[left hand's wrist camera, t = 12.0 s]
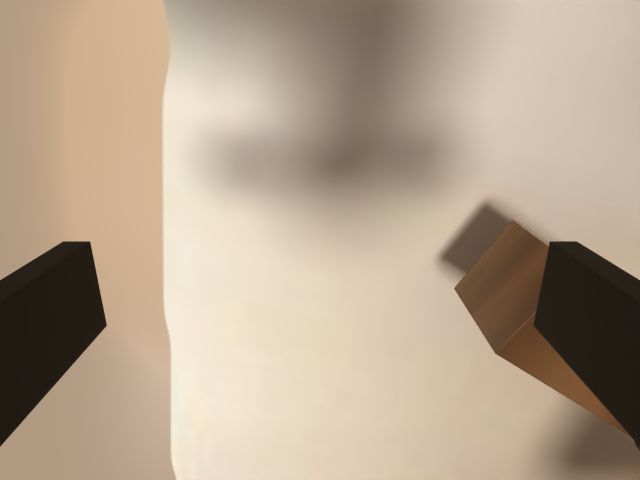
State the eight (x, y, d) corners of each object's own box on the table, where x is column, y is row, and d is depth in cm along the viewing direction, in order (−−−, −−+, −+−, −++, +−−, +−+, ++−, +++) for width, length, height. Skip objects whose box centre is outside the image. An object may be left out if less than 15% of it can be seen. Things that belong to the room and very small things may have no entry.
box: (453, 288, 35) (494, 353, 27) (512, 219, 33) (577, 267, 24) (650, 413, 39) (737, 501, 31) (713, 360, 37) (824, 439, 29)
